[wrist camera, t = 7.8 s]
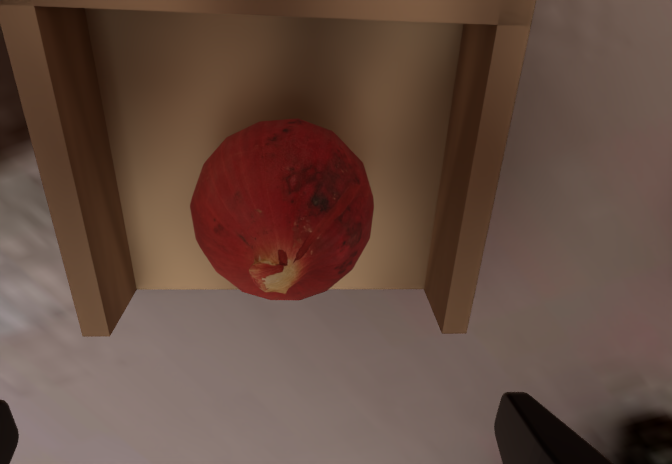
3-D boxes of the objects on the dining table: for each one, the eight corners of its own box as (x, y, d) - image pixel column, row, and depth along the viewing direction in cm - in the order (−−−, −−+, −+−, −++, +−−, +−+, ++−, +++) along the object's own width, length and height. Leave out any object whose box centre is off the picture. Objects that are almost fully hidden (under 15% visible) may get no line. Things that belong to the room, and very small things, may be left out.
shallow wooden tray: (494, -11, 16) (538, -13, 13) (443, 285, 22) (466, 333, 19) (49, -31, 15) (-16, -39, 12) (115, 285, 21) (82, 336, 18)
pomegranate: (283, 64, 17) (275, 111, 10) (388, 170, 19) (444, 274, 12) (182, 173, 18) (109, 285, 11) (289, 261, 20) (285, 401, 13)
